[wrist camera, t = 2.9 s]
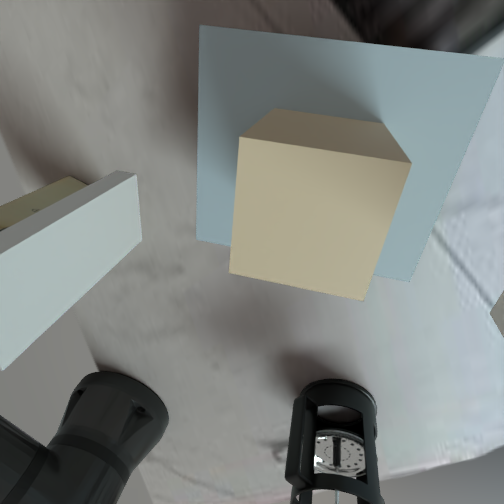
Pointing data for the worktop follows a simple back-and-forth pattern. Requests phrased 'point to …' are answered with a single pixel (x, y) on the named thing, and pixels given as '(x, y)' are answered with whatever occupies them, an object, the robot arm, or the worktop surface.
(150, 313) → the worktop surface
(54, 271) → the robot arm
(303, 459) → the french press
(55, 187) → the skincare box
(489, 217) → the worktop surface
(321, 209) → the lid
